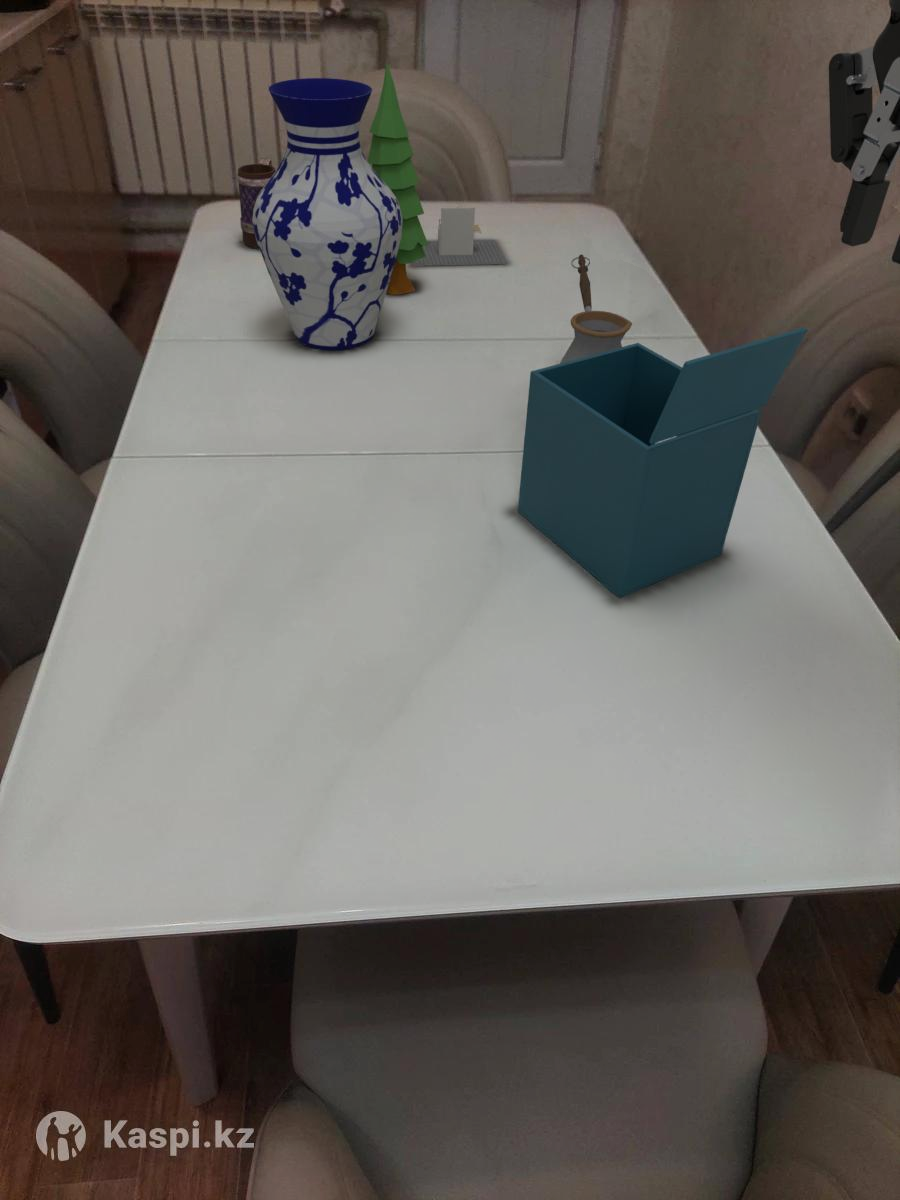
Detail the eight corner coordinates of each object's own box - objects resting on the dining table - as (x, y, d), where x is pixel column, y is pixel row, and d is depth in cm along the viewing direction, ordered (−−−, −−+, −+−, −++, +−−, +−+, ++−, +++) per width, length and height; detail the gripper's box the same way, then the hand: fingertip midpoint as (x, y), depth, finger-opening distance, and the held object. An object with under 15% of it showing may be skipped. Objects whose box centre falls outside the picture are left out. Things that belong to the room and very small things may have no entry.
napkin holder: (436, 248, 151) (437, 202, 146) (476, 247, 152) (479, 201, 147) (439, 255, 148) (440, 208, 143) (480, 254, 149) (482, 207, 144)
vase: (268, 368, 115) (239, 107, 95) (262, 310, 129) (236, 72, 109) (413, 359, 118) (414, 105, 98) (392, 303, 132) (389, 71, 112)
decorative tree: (380, 273, 141) (374, 54, 122) (436, 280, 139) (440, 59, 120) (359, 295, 134) (350, 66, 115) (418, 303, 132) (419, 72, 113)
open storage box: (721, 555, 86) (761, 411, 76) (618, 598, 81) (648, 450, 71) (614, 477, 97) (638, 342, 87) (517, 511, 91) (530, 371, 81)
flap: (762, 403, 76) (764, 406, 76) (648, 441, 71) (651, 444, 71) (805, 326, 70) (808, 329, 70) (684, 361, 65) (687, 364, 64)
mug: (277, 251, 147) (270, 173, 140) (236, 247, 148) (227, 170, 140) (296, 231, 155) (290, 157, 147) (257, 228, 156) (249, 154, 148)
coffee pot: (643, 452, 101) (667, 325, 91) (542, 451, 100) (556, 323, 91) (610, 368, 117) (628, 253, 108) (523, 367, 117) (533, 251, 107)
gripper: (834, -102, 48) (754, 229, 59) (1094, -85, 39) (942, 302, 50) (921, -101, 51) (830, 213, 62) (1180, -85, 42) (1019, 279, 53)
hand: (880, 251), depth 56 cm, fingers open, 3 cm apart
